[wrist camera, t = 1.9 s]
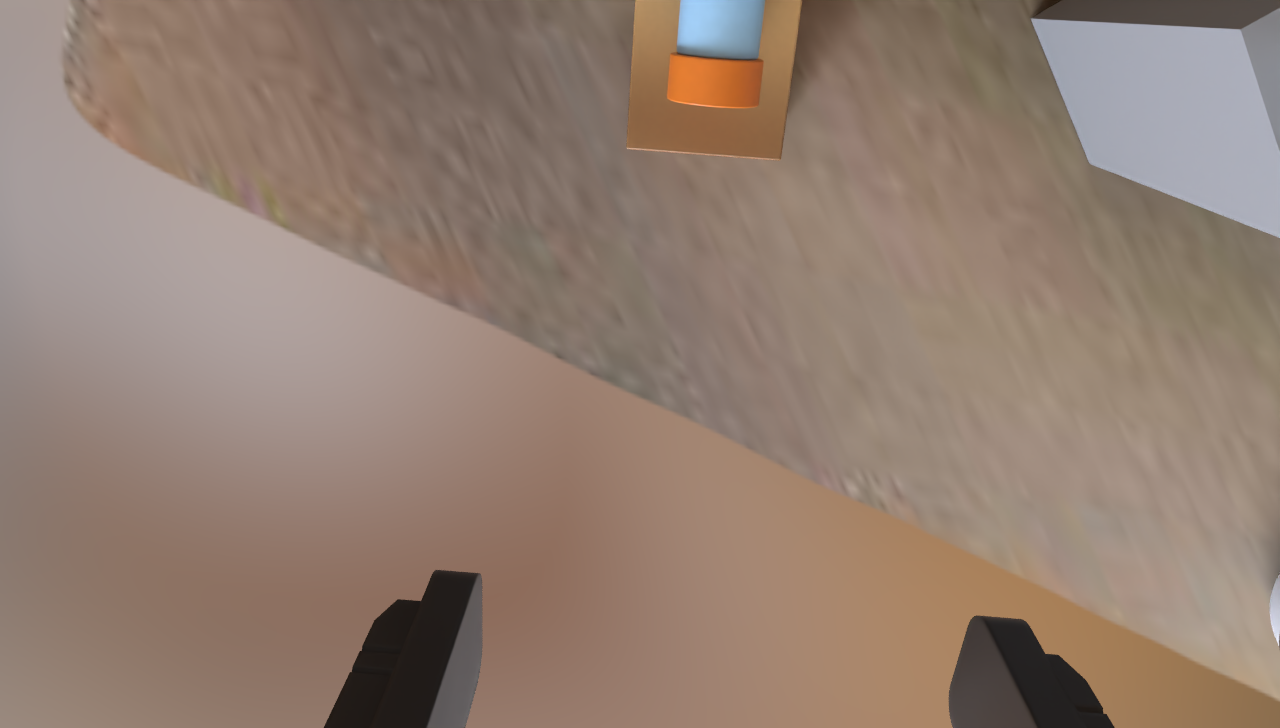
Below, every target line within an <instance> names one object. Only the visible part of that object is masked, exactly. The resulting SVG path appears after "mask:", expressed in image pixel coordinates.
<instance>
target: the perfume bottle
mask: <svg viewBox="0 0 1280 728" xmlns="http://www.w3.org/2000/svg"><path fill="white" fill-rule="evenodd" d="M1031 21H1032V23H1033V25H1034V28H1035V30H1036V33H1037V35H1038V38H1039V40H1040V43H1041V45H1042V48H1043V50H1044V53H1045V55H1046V57H1047V60H1048V62H1049V65H1050V67H1051V70H1052V72H1053V75H1054V77H1055V80H1056V82H1057V85H1058V87H1059V89H1060V92H1061V94H1062V97H1063V99H1064V102H1065V104H1066V107H1067V109H1068V112H1069V114H1070V117H1071V119H1072V122H1073V124H1074V126H1075V129H1076V131H1077V134H1078V136H1079V139H1080V141H1081V144H1082V146H1083V149H1084V151H1085V154H1086V156H1087V158H1088V161H1089V163H1090V164H1092V165H1094V166H1097V167H1099V168H1102V169H1105V170H1107V171H1110V172H1112V173H1115V174H1117V175H1120V176H1123V177H1125V178H1128V179H1130V180H1133V181H1135V182H1138V183H1141V184H1143V185H1146V186H1148V187H1151V188H1153V189H1156V190H1158V191H1161V192H1164V193H1166V194H1169V195H1171V196H1174V197H1176V198H1179V199H1182V200H1184V201H1187V202H1189V203H1192V204H1194V205H1197V206H1200V207H1202V208H1205V209H1207V210H1210V211H1212V212H1215V213H1218V214H1220V215H1223V216H1225V217H1228V218H1230V219H1233V220H1236V221H1238V222H1241V223H1243V224H1246V225H1248V226H1251V227H1253V228H1256V229H1259V230H1261V231H1264V232H1266V233H1269V234H1271V235H1274V236H1277V237H1279V238H1280V0H1062V1H1060V2H1058V3H1056V4H1055V5H1053V6H1051V7H1050V8H1048V9H1046V10H1045V11H1043V12H1041V13H1040V14H1038V15H1036V16H1034V17H1033V18H1031Z"/></svg>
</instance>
